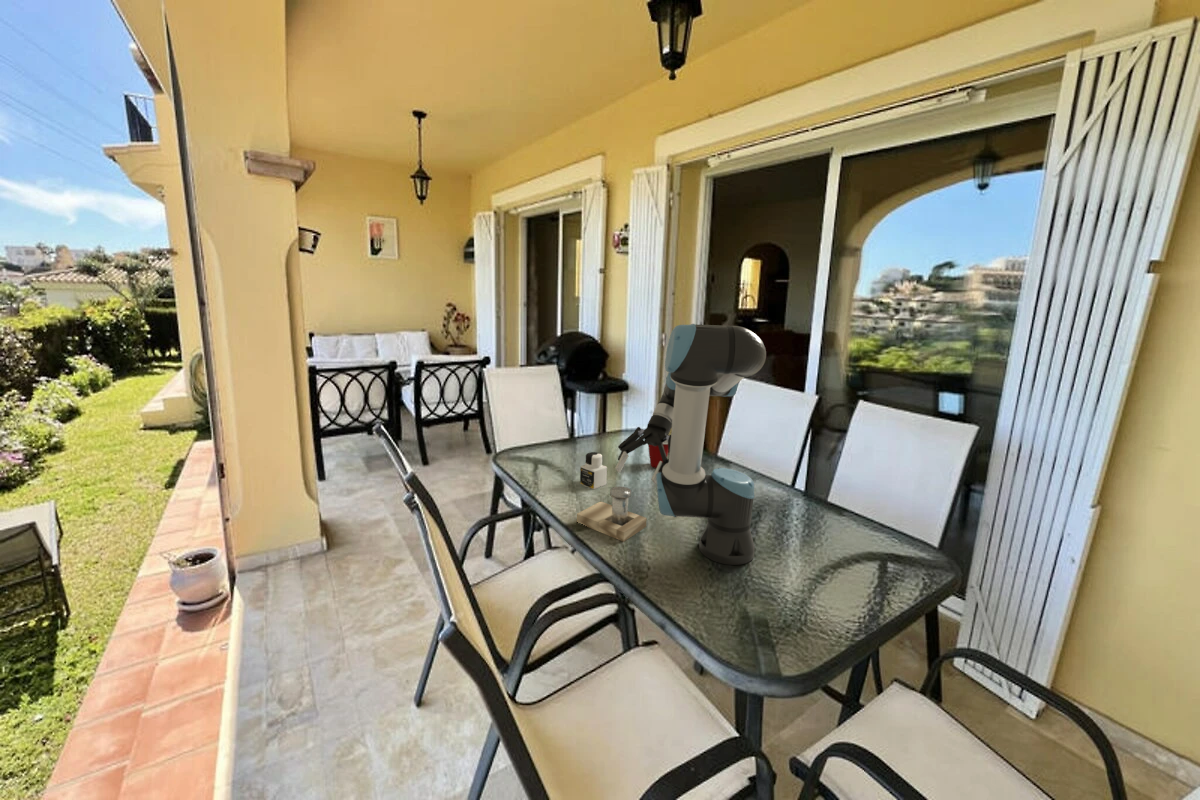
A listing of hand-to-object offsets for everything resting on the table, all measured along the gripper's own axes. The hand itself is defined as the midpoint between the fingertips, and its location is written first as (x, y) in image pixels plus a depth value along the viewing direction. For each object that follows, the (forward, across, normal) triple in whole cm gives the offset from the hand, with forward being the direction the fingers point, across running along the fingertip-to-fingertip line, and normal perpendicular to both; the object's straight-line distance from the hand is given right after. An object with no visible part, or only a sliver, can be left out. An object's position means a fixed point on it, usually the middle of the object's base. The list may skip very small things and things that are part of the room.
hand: (635, 476), depth 156 cm
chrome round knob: (+16, 0, -4) cm, 16 cm away
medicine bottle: (+1, +27, -20) cm, 33 cm away
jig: (+16, +3, -4) cm, 17 cm away
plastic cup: (-22, +18, -43) cm, 52 cm away
